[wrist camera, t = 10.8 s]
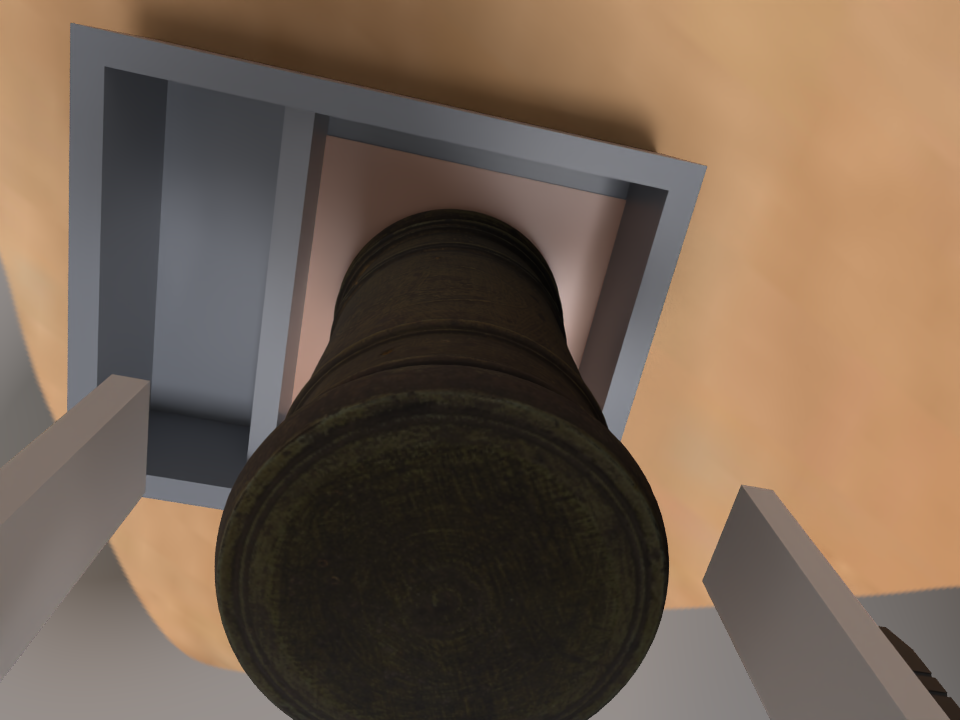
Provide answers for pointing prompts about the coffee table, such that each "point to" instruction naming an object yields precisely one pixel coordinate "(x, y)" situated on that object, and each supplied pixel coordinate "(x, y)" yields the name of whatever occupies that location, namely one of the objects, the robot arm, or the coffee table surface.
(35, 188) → the coffee table surface
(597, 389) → the walled box
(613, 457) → the container
